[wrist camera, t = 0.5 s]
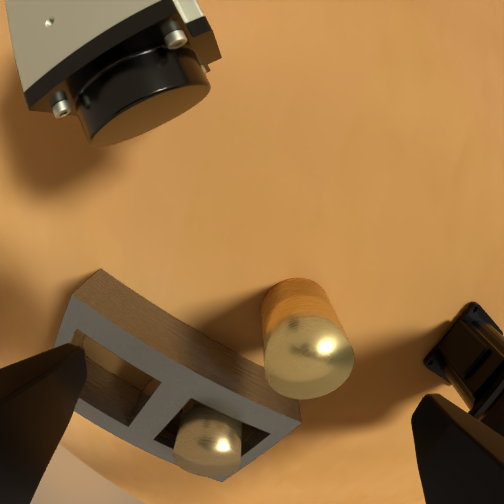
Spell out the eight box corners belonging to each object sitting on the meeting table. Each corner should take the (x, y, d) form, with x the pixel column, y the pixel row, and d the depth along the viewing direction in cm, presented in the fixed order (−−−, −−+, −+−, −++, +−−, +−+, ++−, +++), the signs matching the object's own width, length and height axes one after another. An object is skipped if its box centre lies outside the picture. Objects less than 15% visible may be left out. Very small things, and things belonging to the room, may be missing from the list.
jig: (295, 384, 22) (301, 422, 18) (224, 447, 24) (221, 482, 21) (100, 268, 19) (72, 294, 15) (63, 359, 22) (41, 388, 18)
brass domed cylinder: (342, 300, 20) (372, 354, 14) (300, 348, 21) (314, 409, 15) (289, 264, 19) (304, 312, 13) (247, 317, 20) (246, 377, 14)
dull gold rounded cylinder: (254, 396, 22) (254, 458, 17) (223, 425, 23) (218, 482, 18) (203, 371, 22) (191, 433, 16) (176, 403, 23) (162, 460, 17)
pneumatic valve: (156, 149, 17) (16, 157, 5) (97, 4, 14) (-13, -74, 2) (245, 107, 16) (233, 25, 5) (172, -36, 13) (111, -154, 2)
